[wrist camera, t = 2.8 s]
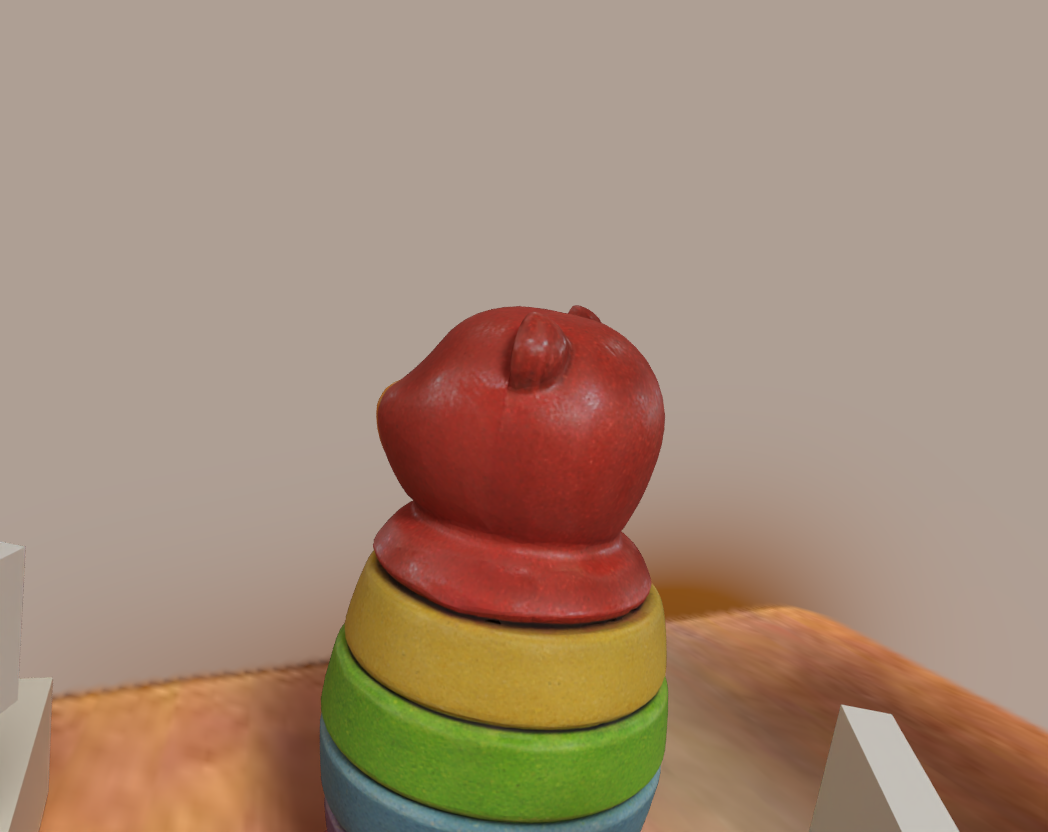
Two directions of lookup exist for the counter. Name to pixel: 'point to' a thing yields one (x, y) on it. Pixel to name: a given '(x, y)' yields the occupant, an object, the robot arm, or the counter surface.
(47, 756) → the collar
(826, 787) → the robot arm
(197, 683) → the counter surface
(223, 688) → the counter surface
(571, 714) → the stacking bear
